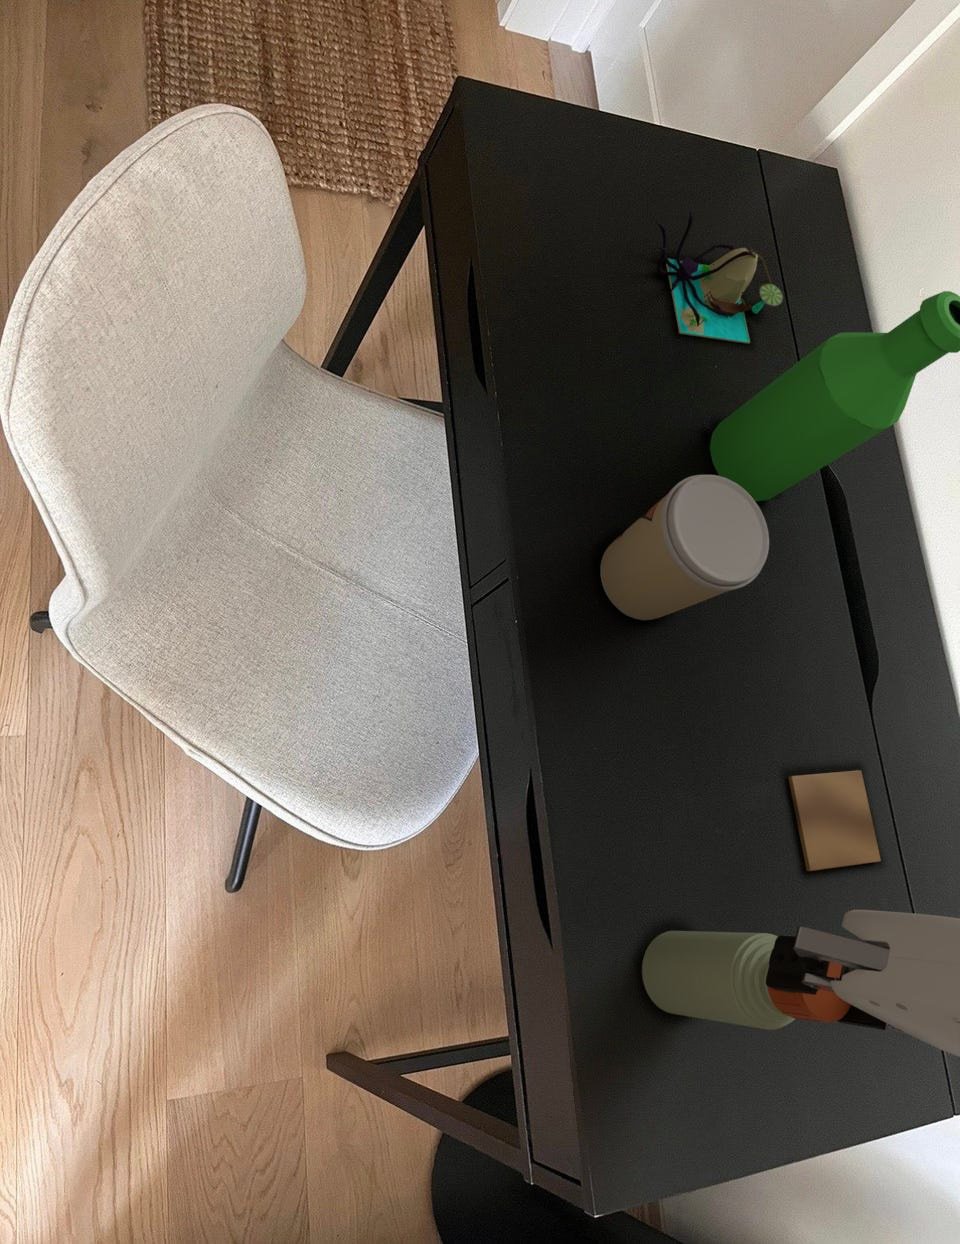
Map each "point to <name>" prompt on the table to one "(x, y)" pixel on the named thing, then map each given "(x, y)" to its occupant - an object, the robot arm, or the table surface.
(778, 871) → the table surface
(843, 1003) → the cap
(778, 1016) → the sauce bottle
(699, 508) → the coffee cup
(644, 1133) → the table surface
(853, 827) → the coaster
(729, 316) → the diorama
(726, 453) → the bottle
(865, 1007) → the robot arm
